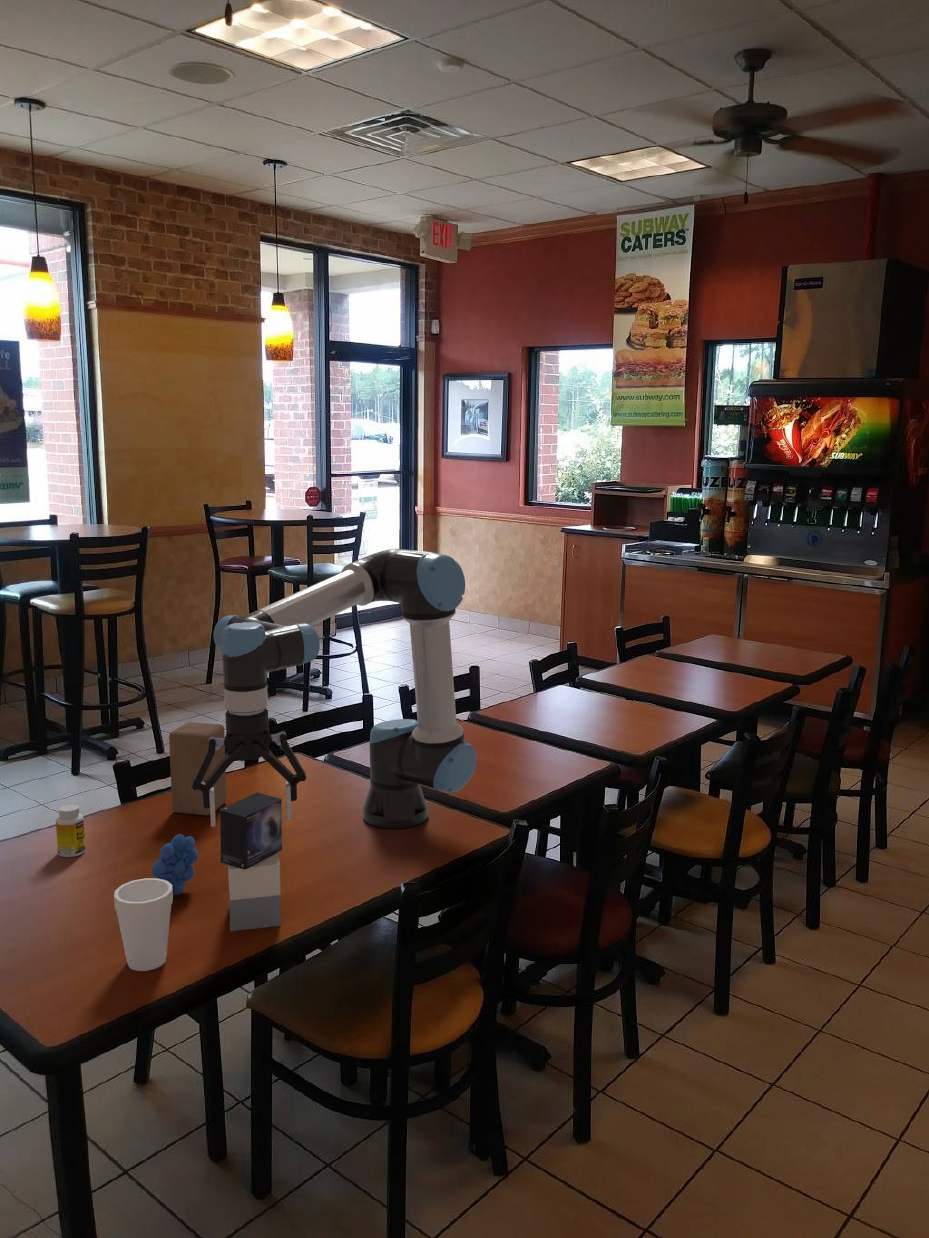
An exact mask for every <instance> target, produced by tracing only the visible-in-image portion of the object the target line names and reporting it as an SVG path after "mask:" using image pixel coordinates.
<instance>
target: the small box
mask: <svg viewBox="0 0 929 1238" xmlns="http://www.w3.org/2000/svg"><path fill="white" fill-rule="evenodd" d="M282 804H283V802H282V798H279V797H275V796H272V795H268V794H265V793H262V792H261V793H260V792H255V793H253V794H251V795H248V796H246V797H243V798H242V799H239V800H237V801H235V802H233V803H231V804H228V805H226V806H224V807H222V808H221V807H220V808H219V828H220V829H219V830H220V831H219V832H220V863H221V864H224V865H227V866H228V865H231V866H234V867H237V868H241V869H244V870H246V869H248V868H250V867H252V866H253V865H255V864H257V863H259V862H261V861H263V860H265V859H266V858H268V857H270V856H272V855H274V854H276V853H278V854H279V852H281V851H283V825H282V824H283V820H282V816H283V815H282V812H283V811H282Z"/></svg>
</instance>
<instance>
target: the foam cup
mask: <svg viewBox="0 0 929 1238" xmlns="http://www.w3.org/2000/svg"><path fill="white" fill-rule="evenodd" d="M173 897H174V895H173V891H172V884H171V883H169V882H168V881H167V880H162V879H158V878H156V877H154V878H153V877H152V878H151V877H149V878H147V877H146V878H141V879H140V878H139V879H135V880H130V881H127V882H126V883H123V884H121V885H120V886H119V887H118V888H116V889H115V890H114V895H113V900H114V901H113V902H114V903H113V905H114V910H115V912H116V915H117V920H118V925H119V926H118V927H119V930H120V935H121V939H122V944H123V949H124V954H125V959H126V963H127V967H129V968H130V970H132V971H137V972H147V971H150V970H157V968H159V967H162V966H163V965H164V964H165V963H166V962H167V955H168V954H167V953H168V943H169V933H170V923H171V921H170V920H171V911H172V904H173V903H174V902H173Z"/></svg>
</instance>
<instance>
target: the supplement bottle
mask: <svg viewBox="0 0 929 1238" xmlns="http://www.w3.org/2000/svg"><path fill="white" fill-rule="evenodd" d="M55 830H56V845H57V846H56V847H57V854H58V856H60V857H62V858H74V857H78V856H81V855H82V854H84V852H85V851H86V837H85V835H86V833H85V819H84V815H83V814H82V813H80V806H79V805H77V804H65V805H63V806H61V807H59V809H58V816H57V817H56V818H55Z"/></svg>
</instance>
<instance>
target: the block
mask: <svg viewBox="0 0 929 1238" xmlns="http://www.w3.org/2000/svg"><path fill="white" fill-rule="evenodd" d="M212 735H213V736H215V737H216V738H225V726H224V724H220V723H211V722H210V723H209V722H208V723H207V722H195V721H188V722H186V723H184V724H182V725H180V726H179V727H178V728H176V729H174V730H172V731H170V733H169V735H168V741H169V743H168V744H169V745H168V746H169V764H170V765H169V766H170V767H169V768H170V787H171V788H170V789H171V806H172V807H171V809H172V812H174V813H177V814H186V815H197V816H211V815H210V808H206V809H205V808H204V806H203V793H202V791H200V790H193V789H192V782H193V779H194V777H195V775H196V773H197V771H198V769H199V766H200V764H201V762H202V760H203V758H204V756H205V754H206V751H207V749H208V746H209V737H210V736H212ZM225 755H226V747H225V745H221V746H220V749H219V750H215V754H214V756H213V758H212V761H211V763H210V765H209V767H208V769H207V771H206V773H205V775H204V778H203V780H202V782H205V780H206V779H207V778H208V777H209V775H210V774H211V773H212V772H213V771H214V769H215V768H216V767H217V766H218V764H219V763H220V762H221V761H222V759H223V758H224V757H225ZM226 771H227V770H226ZM226 771H225V772H224V773H223V774H222V775H221V777H220V778H219V779H218V780H217V782H216V783H215V784H214V785H213V787H214V800H215V812H216V811H217V810H218V809H220V808H221V807H222V806H223V805H224V804H226V801H227V799H228V797H227V773H226Z"/></svg>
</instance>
